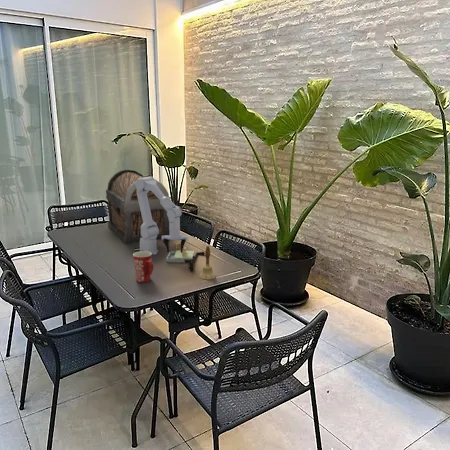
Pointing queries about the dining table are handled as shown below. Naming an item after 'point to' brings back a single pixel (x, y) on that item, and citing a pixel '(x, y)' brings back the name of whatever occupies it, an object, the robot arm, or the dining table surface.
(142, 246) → the robot arm
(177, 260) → the shallow grey tray
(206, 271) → the hand bell
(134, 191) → the treasure chest
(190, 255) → the lid
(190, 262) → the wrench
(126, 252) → the dining table surface
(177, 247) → the wooden block
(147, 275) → the mug
